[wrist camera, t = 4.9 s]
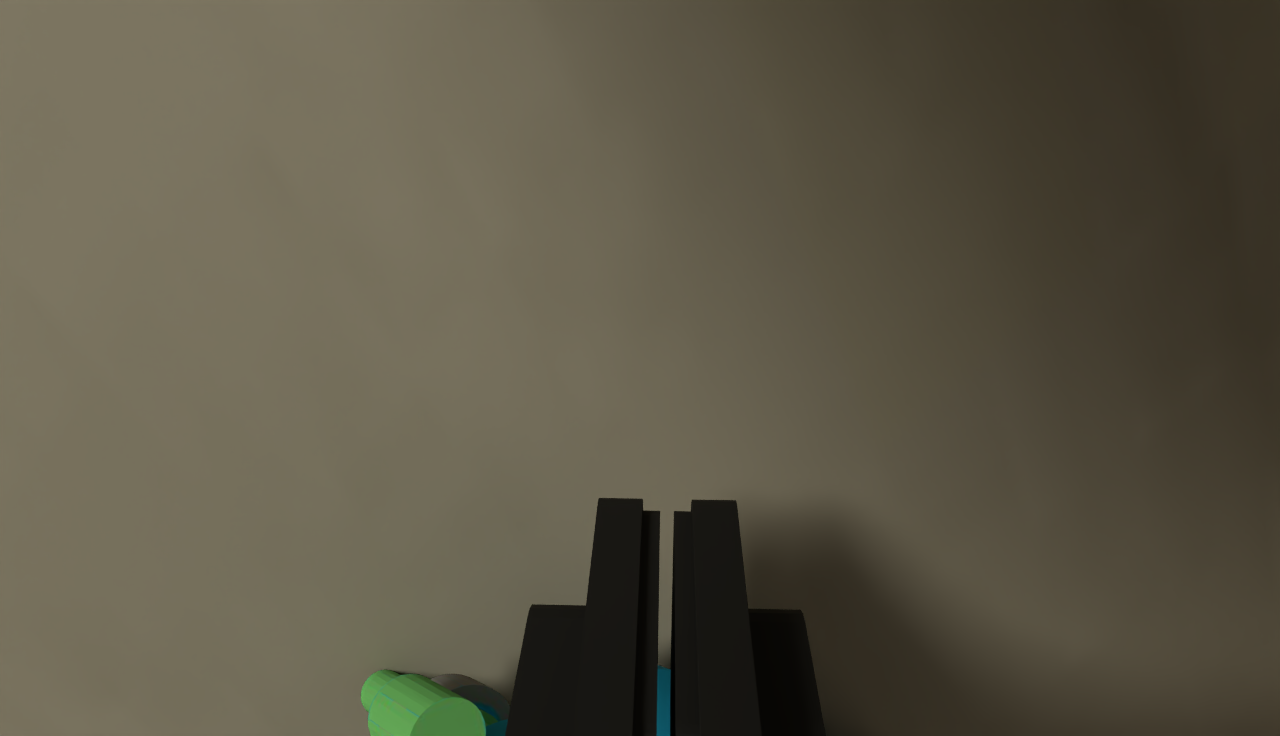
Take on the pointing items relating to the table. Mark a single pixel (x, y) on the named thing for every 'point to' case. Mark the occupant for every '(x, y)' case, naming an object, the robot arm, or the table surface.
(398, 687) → the gear
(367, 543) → the table surface
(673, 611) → the robot arm
